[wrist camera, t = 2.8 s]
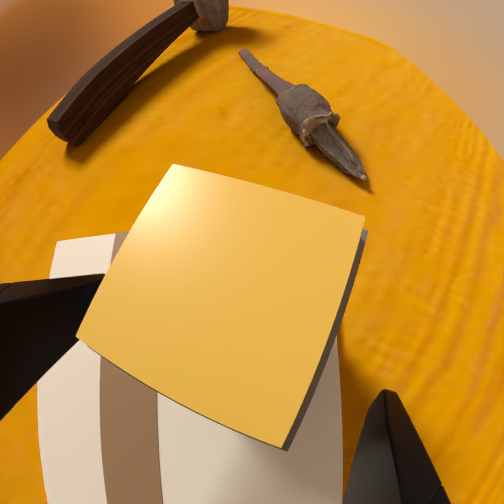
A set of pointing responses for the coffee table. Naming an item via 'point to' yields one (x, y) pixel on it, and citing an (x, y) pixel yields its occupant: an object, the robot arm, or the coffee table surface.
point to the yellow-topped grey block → (228, 299)
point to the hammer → (129, 67)
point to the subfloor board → (169, 431)
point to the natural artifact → (309, 117)
